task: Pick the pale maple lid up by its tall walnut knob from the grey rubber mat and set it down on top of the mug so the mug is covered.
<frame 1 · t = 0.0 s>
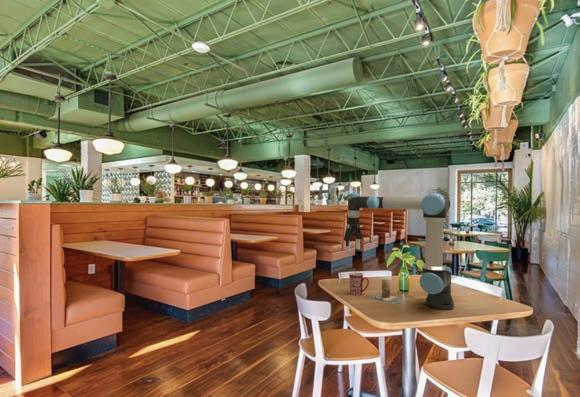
hand: (352, 250, 206), 28 cm above the table, tool pointing down, fingers open, 13 cm apart
mat: (385, 299, 195), on the table
lid: (385, 298, 195), point 1 cm above the table, touching mat
mug: (358, 295, 203), on the table
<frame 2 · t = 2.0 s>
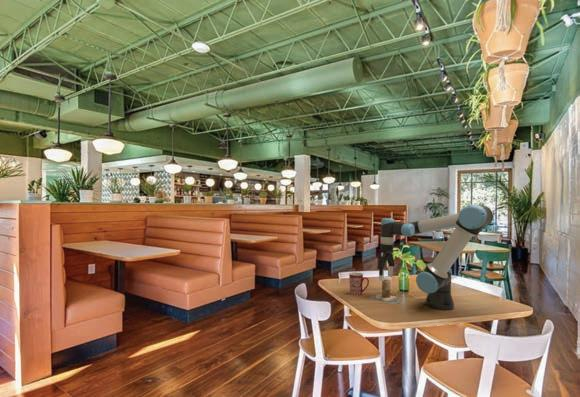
hand: (385, 278, 196), 13 cm above the table, tool pointing down, fingers open, 13 cm apart
nothing on the table moved.
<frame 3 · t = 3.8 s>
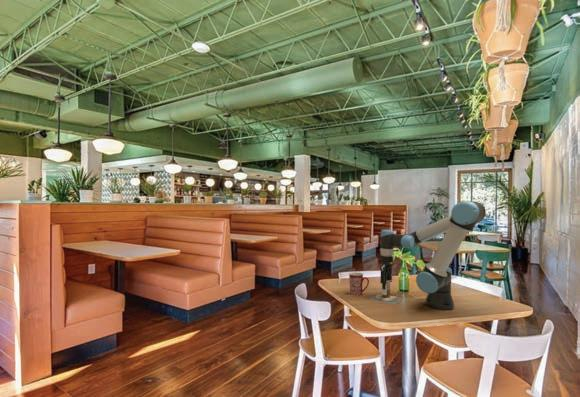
hand: (386, 293, 195), 4 cm above the table, tool pointing down, fingers closed on lid, 5 cm apart
lid: (386, 298, 195), point 1 cm above the table, touching gripper, mat
everything else where it was.
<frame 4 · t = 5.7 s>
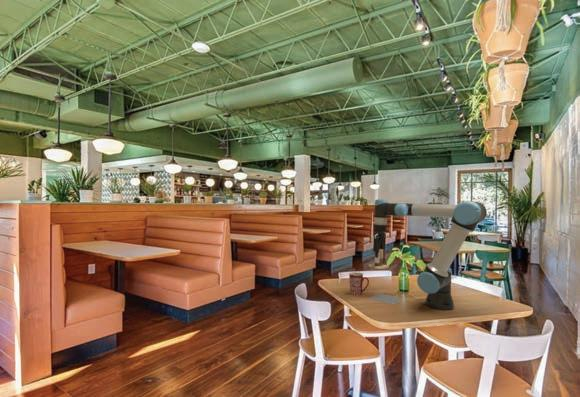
hand: (378, 261, 198), 22 cm above the table, tool pointing down, fingers closed on lid, 5 cm apart
lid: (378, 267, 198), point 19 cm above the table, touching gripper
everything else where it was.
when the fingers open (18 cm above the table, at t = 7.4 s): lid drops 1 cm, resting on mug.
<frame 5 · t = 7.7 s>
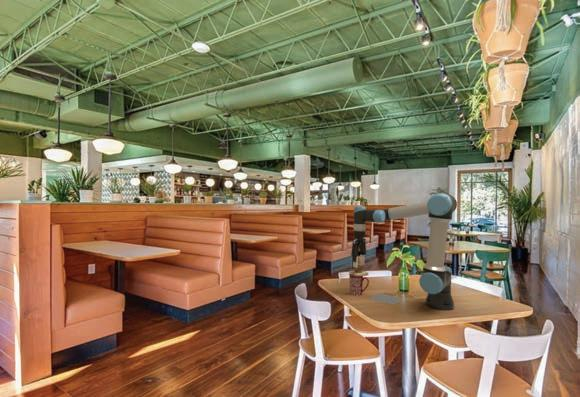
hand: (358, 266, 204), 18 cm above the table, tool pointing down, fingers open, 9 cm apart
lid: (358, 273, 204), point 13 cm above the table, touching mug
mug: (358, 295, 203), on the table, touching lid
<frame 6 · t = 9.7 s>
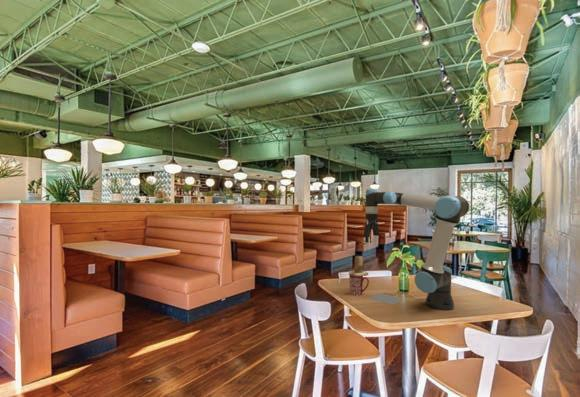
hand: (371, 246, 205), 31 cm above the table, tool pointing down, fingers open, 13 cm apart
nothing on the table moved.
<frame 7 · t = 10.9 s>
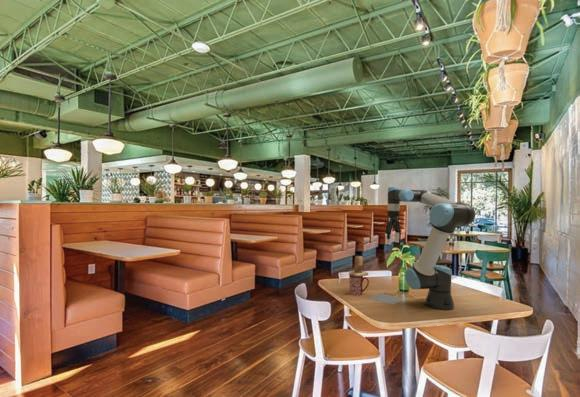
hand: (392, 243, 208), 33 cm above the table, tool pointing down, fingers open, 13 cm apart
nothing on the table moved.
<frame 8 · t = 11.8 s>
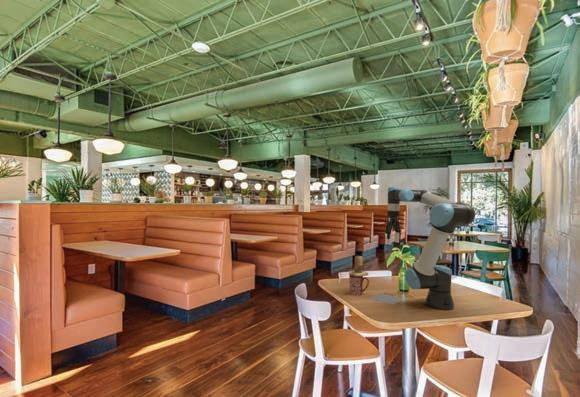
hand: (392, 243, 208), 33 cm above the table, tool pointing down, fingers open, 13 cm apart
nothing on the table moved.
at the end: lid inside the target area on the mug (0.6 cm from its centre), point 13.7 cm above the mug's base; mug tilted 0°; the gripper is holding nothing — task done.
